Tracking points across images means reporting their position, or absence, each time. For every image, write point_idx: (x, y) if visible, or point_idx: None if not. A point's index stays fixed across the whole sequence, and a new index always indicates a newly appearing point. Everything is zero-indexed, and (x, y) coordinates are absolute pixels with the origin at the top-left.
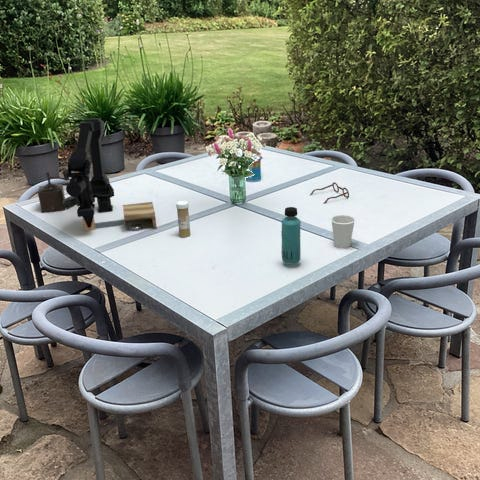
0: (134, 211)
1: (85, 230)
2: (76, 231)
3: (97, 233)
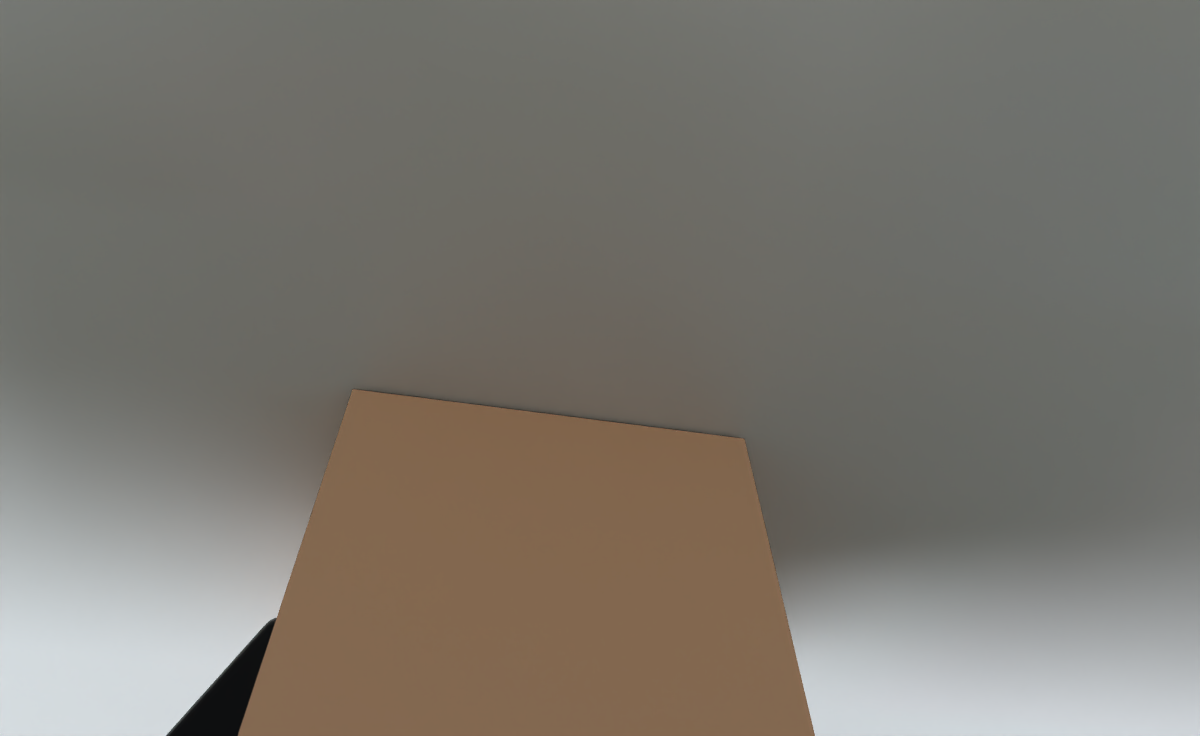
0: None
1: (346, 427)
2: (478, 72)
3: (13, 664)
